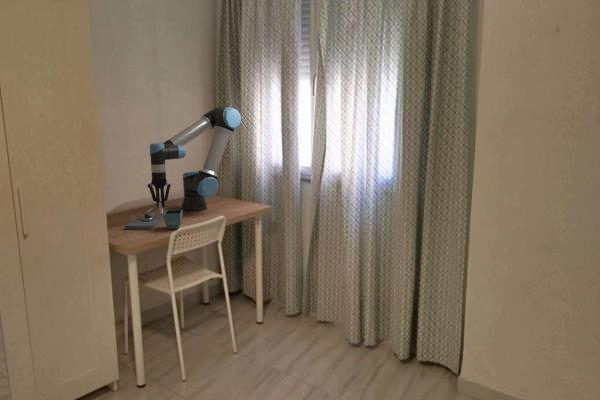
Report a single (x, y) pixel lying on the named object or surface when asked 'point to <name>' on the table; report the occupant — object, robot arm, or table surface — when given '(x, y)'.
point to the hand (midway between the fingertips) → (161, 213)
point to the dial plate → (143, 223)
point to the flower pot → (173, 218)
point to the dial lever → (148, 215)
